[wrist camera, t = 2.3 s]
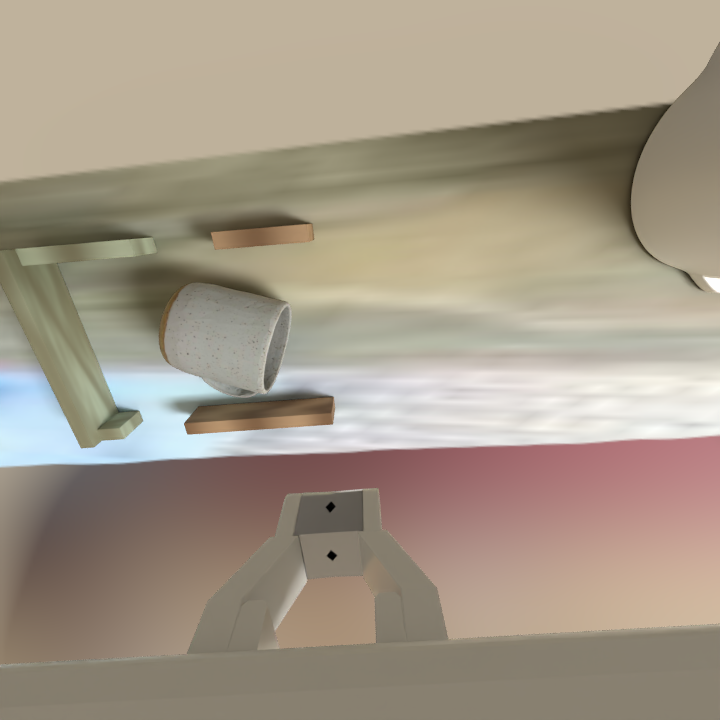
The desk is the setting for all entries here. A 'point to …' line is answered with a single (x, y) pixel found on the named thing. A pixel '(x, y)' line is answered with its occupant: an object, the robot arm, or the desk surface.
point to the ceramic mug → (226, 337)
